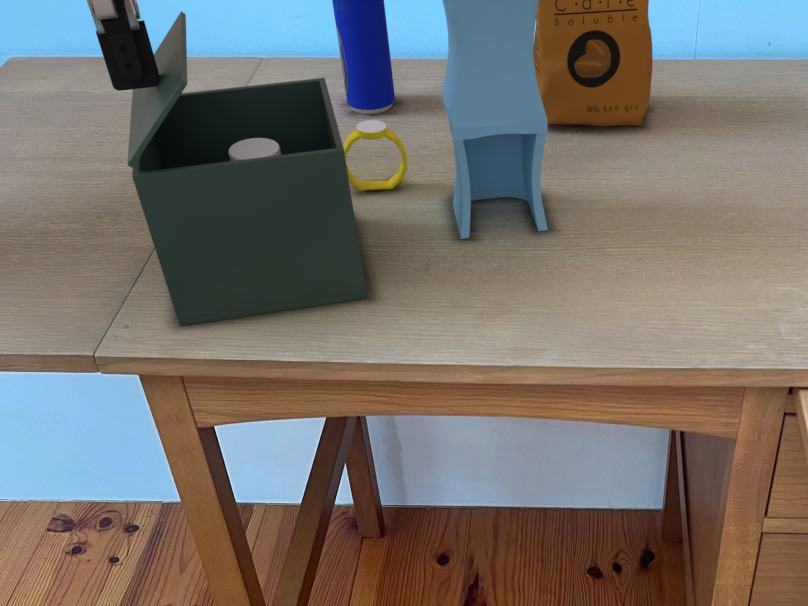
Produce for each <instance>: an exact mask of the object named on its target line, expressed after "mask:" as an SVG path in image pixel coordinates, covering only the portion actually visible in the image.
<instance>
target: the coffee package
mask: <svg viewBox="0 0 808 606" xmlns="http://www.w3.org/2000/svg"><path fill="white" fill-rule="evenodd" d="M649 2H650V0H539V3H538V9H537V15H536V21H535V30H534V47H533V55H534V66H535V73H536V79H537V84H538V88H539V92H540V96H541V100H542V103H543V106H544V110H545V113H546V116H547V125H584V126H585V125H586V126H594V127H595V126H596V127H612V126H634V127H635V126H636V127H640V126H641V125H643V118H644V117H645V116H646V113H647V111H648V109H649V106H650V97H651V87H652V76H653V64H654V63H653V38H652V29H651V26H650V19H649V5H650V4H649Z"/></svg>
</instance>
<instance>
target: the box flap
mask: <svg viewBox="0 0 808 606" xmlns="http://www.w3.org/2000/svg"><path fill="white" fill-rule="evenodd" d="M187 51H188V48H187V15H186V13H185V12H183V11H180V13H179V14H178V15H177V17H176V19H175V20H174V21H173V23H172V25H171V26H170V28H169V30H168V31H167V33H166V35H165V36H164V38H163V40H162V41H161V43H160V44H159V46H158V47H157V48H156V50H155V52H154V53H153V54H154V58H155V61H156V65H157V68H158V72H159V83H158V85H157V86H156V87H149V88H140V89H132V93H131V94H132V95H131V109H130V120H129V121H130V124H129V136H128V151H127V163H126V165H127V166H128V167H130V168H132V169H133V166H134V165H135V163H136V162H137V160H138V159H139V157H140V156H141V154H142V153H143V151H144V150H145V148H146V147H147V145H148V144H149V142H150V141H151V139H152V137H153V136H154V134H155V133H156V131H157V130H158V128H159V127H160V125H161V124H162V122H163V121H164V119H165V118H166V116H167V115H168V113H169V111H170V110H171V108H172V107H173V105H174V104H175V102H176V101H177V99H178V98H179V96H180V95H181V93H184V90H185V89H186V87H188V86H187V85H188V52H187Z"/></svg>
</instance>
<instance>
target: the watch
mask: <svg viewBox="0 0 808 606" xmlns="http://www.w3.org/2000/svg"><path fill="white" fill-rule="evenodd" d="M383 138H386V139H388V140H390V141H391V142H393V143H394V144H395V145H396V147H397V148H398V150H399V151H400V155H401V162H400V165H399V168H398V170H397V173H395V174H394V175H392V177H390V179H388V180H365V181H364V180H363V181H362V180H361V179H359V178H358V177H356V176H355V175H354V174H352V172H351V170H350V168H349V166H348V164H347V163H346V166H347V172H348V179H349V184H351V185H352V186H354V187H355V188H356V189H358V190H359V191H361V192H364V191H376V190H393V189H394V188H395V187H396V186H398V185H399V184H400V183H401V182H402V181H403V179H404V177H405V174H406V172H407V169H408V160H407V159H408V158H407V152H406V148H405V145H404V143H403V142H402V141H401V139H400V138H399V136H398V134H396V133H395V132H394V131H392V130H390V129H389V128H388V125H387V124H386V122H383V121H381V120H376V119H367V120H363V121H360V122H358V123H357V124H356V126H355V130H354V131H352V132H351V133H349V135H347V137H346V139H345V141H344V142H343V143H342V145H343V148H344V153H345V160H346V161H347V155H348V153H349V151H350V149H351V147H352V146H353V144H354V143H355V142H357V141H359V140H360V139H363V140H368V141H369V140H370V141H371V140H372V141H373V140H379V139H383Z"/></svg>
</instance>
